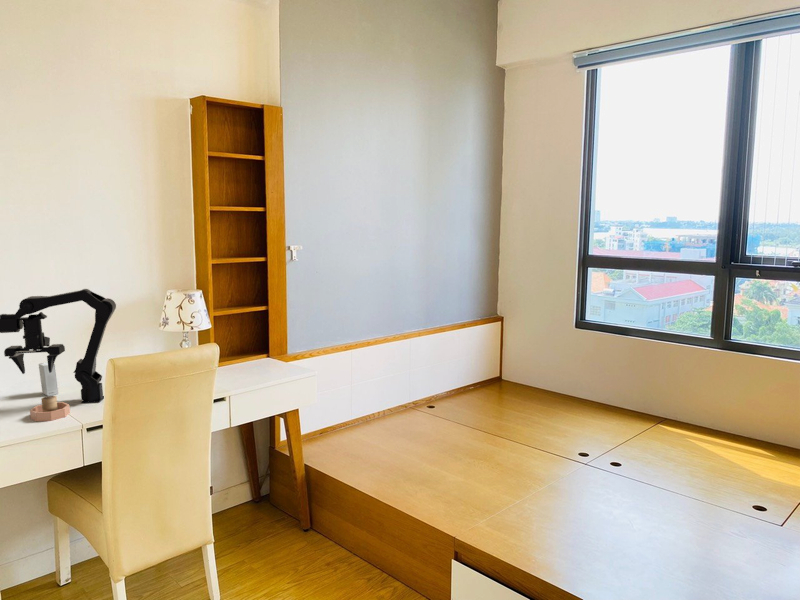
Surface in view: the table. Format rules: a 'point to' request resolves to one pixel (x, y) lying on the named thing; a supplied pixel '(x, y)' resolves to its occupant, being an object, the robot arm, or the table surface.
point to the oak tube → (49, 403)
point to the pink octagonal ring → (39, 415)
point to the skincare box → (48, 379)
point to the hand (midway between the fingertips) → (37, 373)
